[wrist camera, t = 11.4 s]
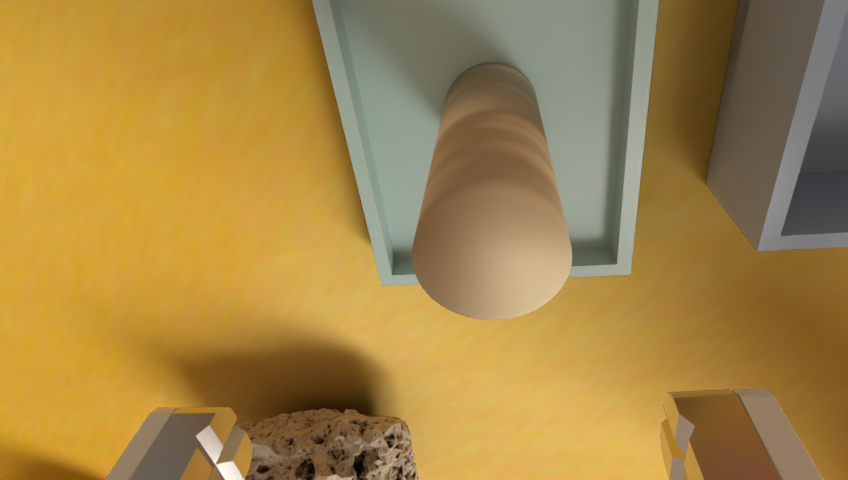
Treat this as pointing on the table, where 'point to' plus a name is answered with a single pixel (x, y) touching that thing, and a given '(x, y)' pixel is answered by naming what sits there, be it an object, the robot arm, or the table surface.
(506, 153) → the dowel
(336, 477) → the pumice stone
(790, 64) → the grey open box
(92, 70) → the table surface
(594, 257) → the tray
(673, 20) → the table surface
